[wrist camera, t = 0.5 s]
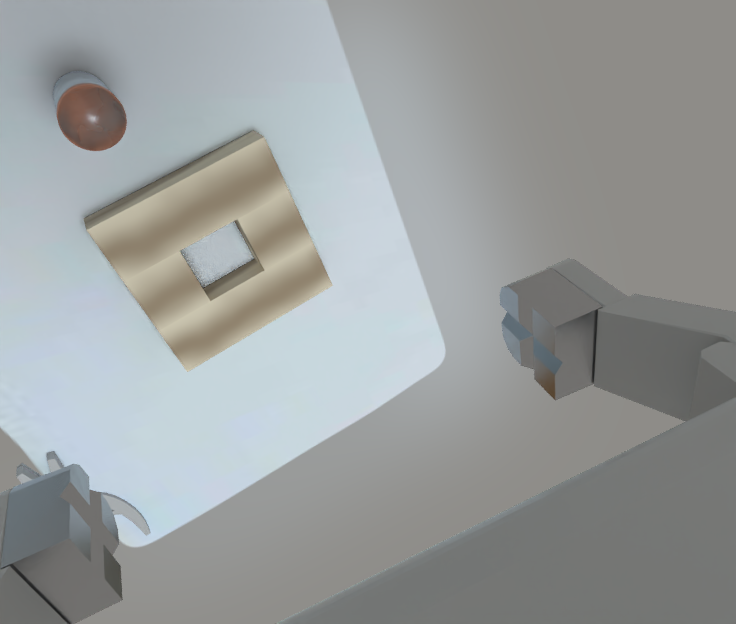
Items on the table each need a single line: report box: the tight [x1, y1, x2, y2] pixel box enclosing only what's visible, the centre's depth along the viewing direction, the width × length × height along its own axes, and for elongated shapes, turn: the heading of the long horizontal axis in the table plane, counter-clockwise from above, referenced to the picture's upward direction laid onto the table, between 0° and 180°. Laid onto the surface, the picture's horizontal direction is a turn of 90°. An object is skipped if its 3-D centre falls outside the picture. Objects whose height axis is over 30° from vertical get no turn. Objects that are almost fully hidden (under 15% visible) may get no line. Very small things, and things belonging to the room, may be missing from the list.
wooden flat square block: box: [84, 130, 333, 372], centre depth 55 cm, size 16×16×3 cm
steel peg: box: [53, 71, 127, 151], centre depth 43 cm, size 4×4×9 cm
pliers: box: [17, 451, 150, 535], centre depth 61 cm, size 10×2×15 cm
